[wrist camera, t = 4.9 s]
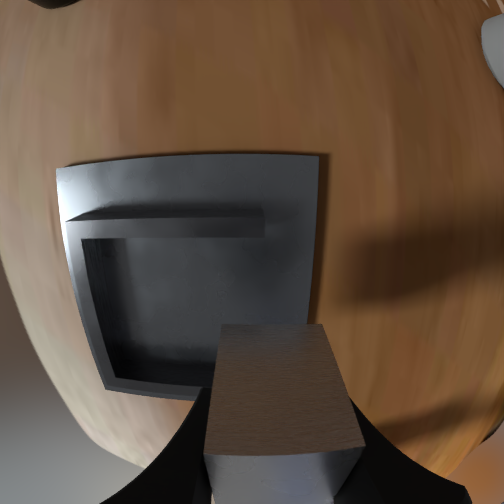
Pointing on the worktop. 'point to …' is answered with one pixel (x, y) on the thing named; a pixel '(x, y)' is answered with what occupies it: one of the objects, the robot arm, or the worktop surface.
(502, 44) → the can
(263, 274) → the cradle
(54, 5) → the supplement bottle
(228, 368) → the block
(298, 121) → the worktop surface
